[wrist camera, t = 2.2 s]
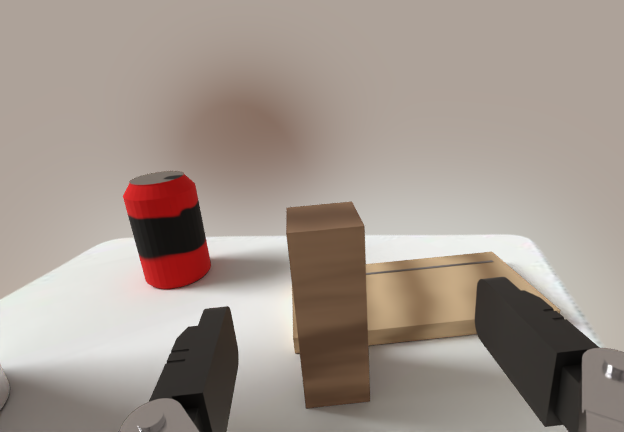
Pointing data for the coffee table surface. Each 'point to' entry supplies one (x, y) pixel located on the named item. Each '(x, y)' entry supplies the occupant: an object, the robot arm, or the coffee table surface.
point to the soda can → (167, 228)
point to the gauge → (330, 302)
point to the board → (428, 296)
